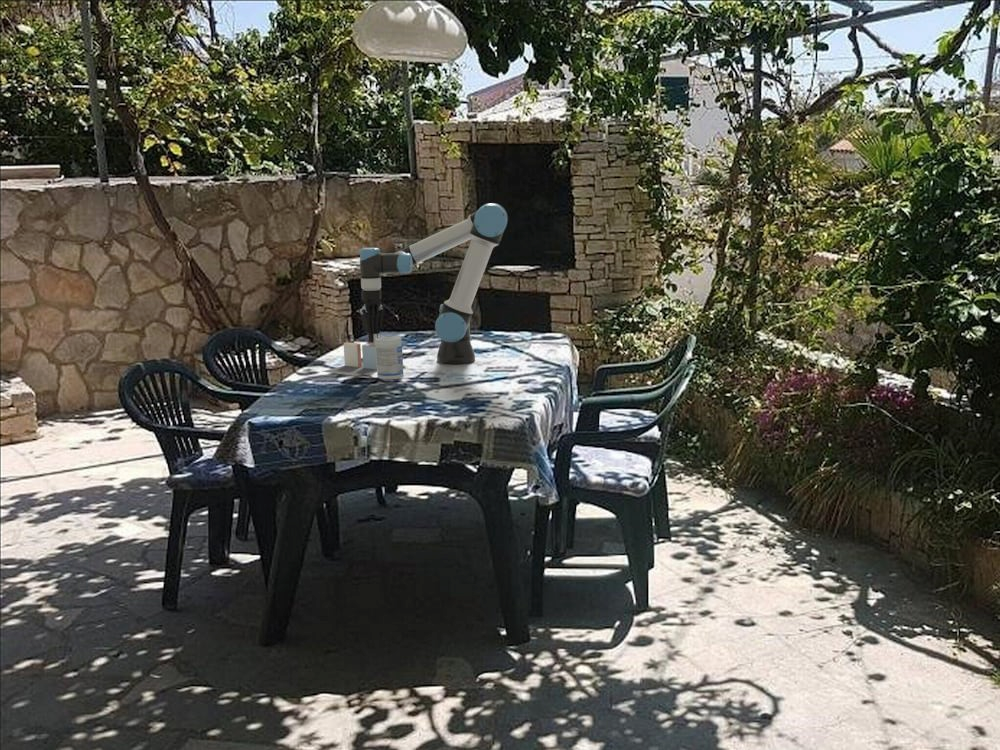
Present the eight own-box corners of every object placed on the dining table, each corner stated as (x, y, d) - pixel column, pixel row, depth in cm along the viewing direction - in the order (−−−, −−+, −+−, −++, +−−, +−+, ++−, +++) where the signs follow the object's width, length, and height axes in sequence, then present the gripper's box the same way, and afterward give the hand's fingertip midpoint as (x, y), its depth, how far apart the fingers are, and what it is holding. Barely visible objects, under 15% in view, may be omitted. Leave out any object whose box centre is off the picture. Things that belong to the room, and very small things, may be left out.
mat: (394, 366, 343) (394, 365, 343) (356, 377, 325) (356, 376, 325) (361, 362, 352) (361, 361, 352) (322, 372, 334) (322, 371, 334)
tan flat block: (361, 366, 342) (360, 343, 340) (358, 367, 340) (356, 344, 338) (348, 364, 345) (346, 342, 344) (344, 365, 344) (343, 343, 342)
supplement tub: (405, 379, 319) (403, 339, 316) (378, 381, 317) (376, 341, 314) (401, 374, 328) (400, 335, 325) (376, 375, 326) (374, 336, 323)
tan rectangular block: (380, 368, 337) (379, 345, 335) (376, 369, 335) (375, 346, 333) (366, 367, 340) (365, 344, 338) (363, 368, 339) (361, 345, 337)
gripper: (375, 286, 340) (377, 346, 345) (351, 290, 330) (354, 352, 335) (390, 287, 336) (392, 348, 341) (367, 291, 326) (369, 354, 331)
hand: (373, 350), depth 338 cm, fingers closed
